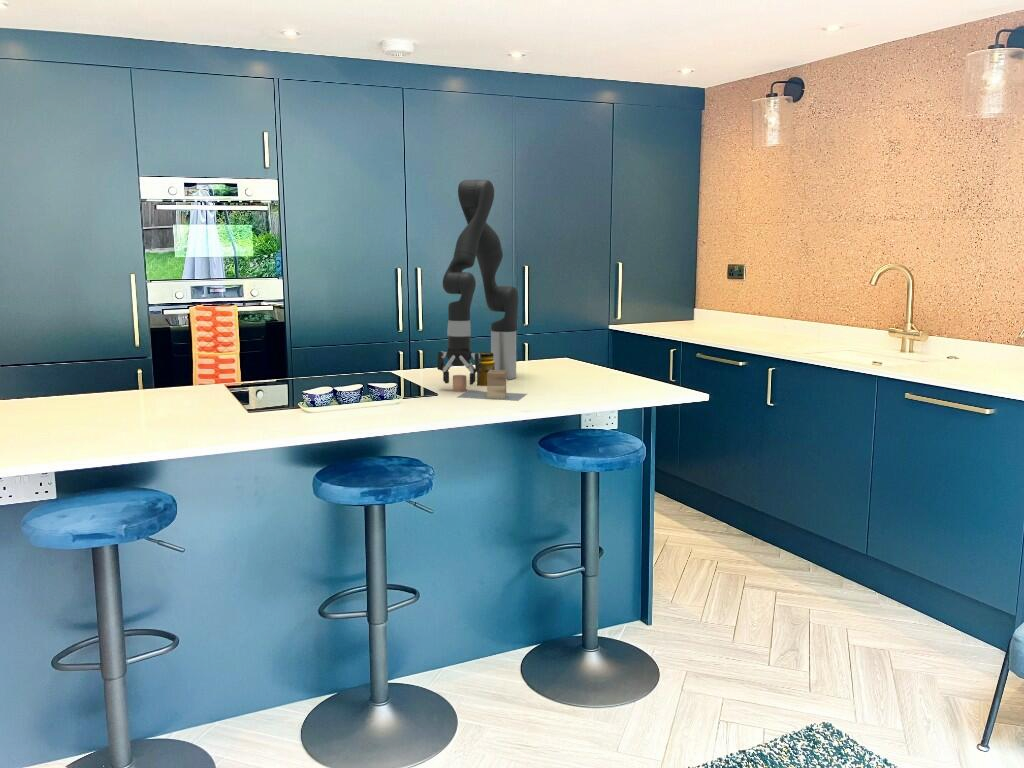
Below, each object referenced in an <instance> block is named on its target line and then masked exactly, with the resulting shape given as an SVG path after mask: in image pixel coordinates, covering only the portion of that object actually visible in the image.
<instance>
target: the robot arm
mask: <svg viewBox="0 0 1024 768" xmlns="http://www.w3.org/2000/svg"><path fill="white" fill-rule="evenodd" d="M457 195H458V201H459V204H460V207H461V210H462V212H463V215H464V218H465V220H466V224H467V225H466V226H465V227H464V229H463V230H462V231H461V233H460V234H459V236H458V237H457V241H456V243H455V248H454V252H453V253H454V254H453V256H452V257H453V258H452V259H451V261H450V263H449V265H448V268H446V270H445V273H444V275H443V279H442V287H443V290H444V292H446V293H447V294H449V295H450V294H451V295H460V298H459V299H458V300H457V301H452V302H450V303H449V304H448V307H447V308H448V315H447V316H448V318H447V319H448V320H447V321H448V322H447V331H446V333H447V351H443V350H441V351H438V352H437V353H438V354H437V367H436V368H437V370H439V371H441V372H442V374H443V375H442V379H443V382H444V384H449V382H450V371H449V370H450V369H451V368H452V366H461V367H464V366H465V368H466V369H467V370H468V371H469V372H470V373H469V385H470V386H472V385H474V384H475V383H476V374H477V372H478V371H480V370H481V356H480V353H481V352H476V353H475V352H473V353H472V345H471V344H472V342H471V341H472V337H471V336H472V327H471V305H472V302H473V297H474V293H475V290H476V286H477V285H476V277H475V276H474V274H473V273H471V272H468V271H466V272H465V271H464V270H466V269H471V268H473V266H474V265H475V262H476V260H477V263H478V267H479V272H480V274H481V279H482V283H483V292H484V296H485V297H484V298H485V302H486V306H487V307H488V309H489V311H492V312H497V313H498V312H501V313H504V316H503V317H502V318H501V319H499V320H496V321H494V322H492V323H491V325H490V353H493V355H494V356H493V358H494V359H493V360H494V362H495V370H500V371H507V377H506V380H512V379H516V378H517V326H518V313H519V311H518V309H519V292H518V289H517V288H516V287H515V286H507V285H506V286H505V285H502V286H501V285H498V284H497V282H496V274H497V271H498V269H499V268H500V265H501V262H502V260H503V257H504V253H503V249H502V244H501V240H500V238H499V235H498V234H497V233H496V231H495V230H494V229H493V228H492V226H490V224H489V223H487V220H488V217H489V214H490V212H491V209H492V207H493V205H494V204H493V203H494V199H495V187H494V185H493V183H492V181H490V180H488V179H464V180H461V181H460V182H459V184H458V186H457ZM446 357H447V359H448V361H447V363H445V365H444V361H445V360H444V359H445V358H446ZM470 359H473V360H474V363H475V364H474V365H473V363H472V362H471V360H470Z"/></svg>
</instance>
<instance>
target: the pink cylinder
mask: <svg viewBox="0 0 1024 768" xmlns="http://www.w3.org/2000/svg"><path fill="white" fill-rule="evenodd" d="M452 391H453V392H460V393H461V392H467V375H466V374H454V375H452Z"/></svg>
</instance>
